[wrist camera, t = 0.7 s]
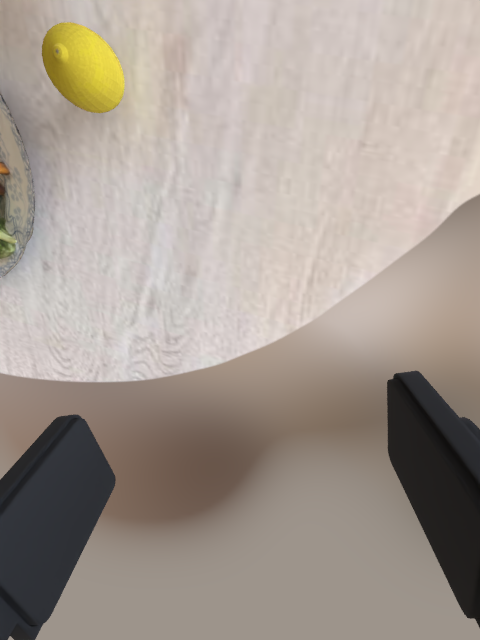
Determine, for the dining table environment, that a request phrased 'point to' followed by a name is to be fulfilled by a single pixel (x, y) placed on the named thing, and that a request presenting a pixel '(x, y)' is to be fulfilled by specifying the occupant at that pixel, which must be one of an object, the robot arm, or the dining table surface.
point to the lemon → (83, 67)
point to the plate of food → (14, 193)
